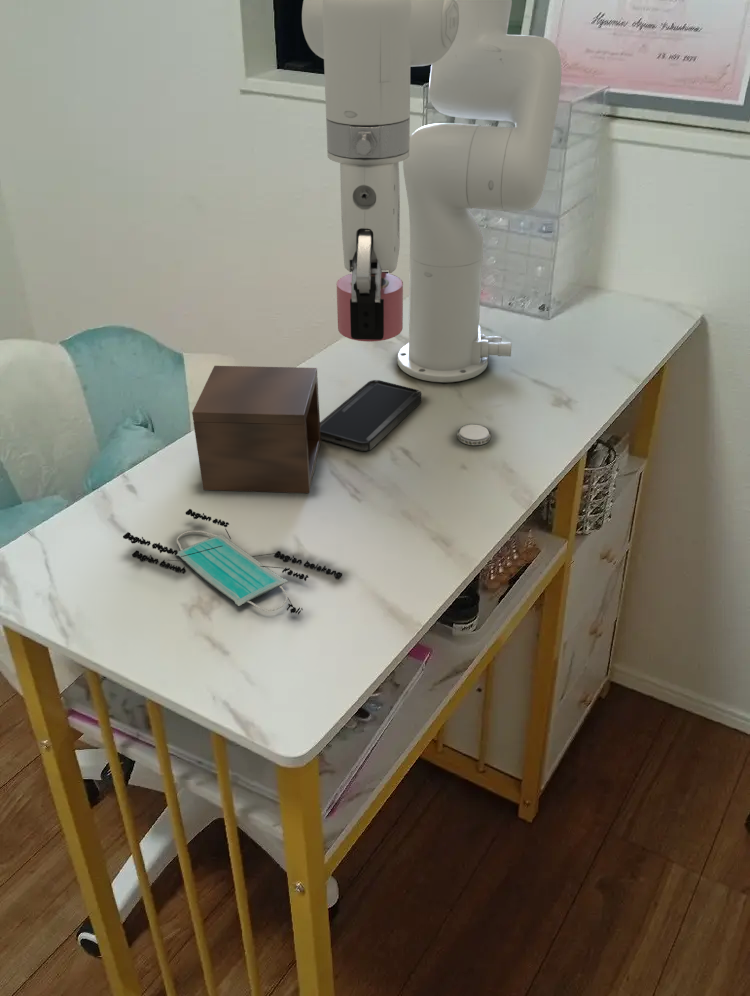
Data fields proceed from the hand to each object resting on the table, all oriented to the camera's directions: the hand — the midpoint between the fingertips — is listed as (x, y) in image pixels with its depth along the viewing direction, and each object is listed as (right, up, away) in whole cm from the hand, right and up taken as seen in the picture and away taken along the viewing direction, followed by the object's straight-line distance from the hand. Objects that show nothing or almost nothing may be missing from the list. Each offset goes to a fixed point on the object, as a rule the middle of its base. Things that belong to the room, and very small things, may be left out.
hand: (370, 321), depth 92 cm
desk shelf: (-12, -14, +14) cm, 23 cm away
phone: (0, -8, +22) cm, 24 cm away
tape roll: (0, -1, 0) cm, 1 cm away
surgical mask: (-14, -25, -2) cm, 29 cm away
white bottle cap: (+13, -11, +18) cm, 25 cm away
